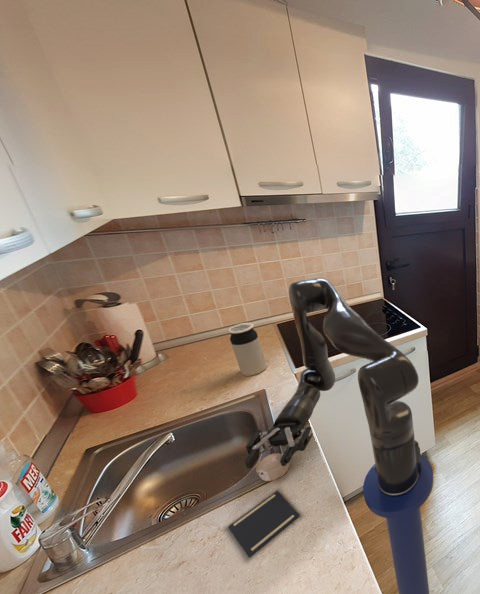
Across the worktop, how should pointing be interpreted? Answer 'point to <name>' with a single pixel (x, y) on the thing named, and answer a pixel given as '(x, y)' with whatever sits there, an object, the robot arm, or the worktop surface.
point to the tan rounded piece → (271, 467)
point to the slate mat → (263, 523)
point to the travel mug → (247, 349)
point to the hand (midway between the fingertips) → (265, 464)
